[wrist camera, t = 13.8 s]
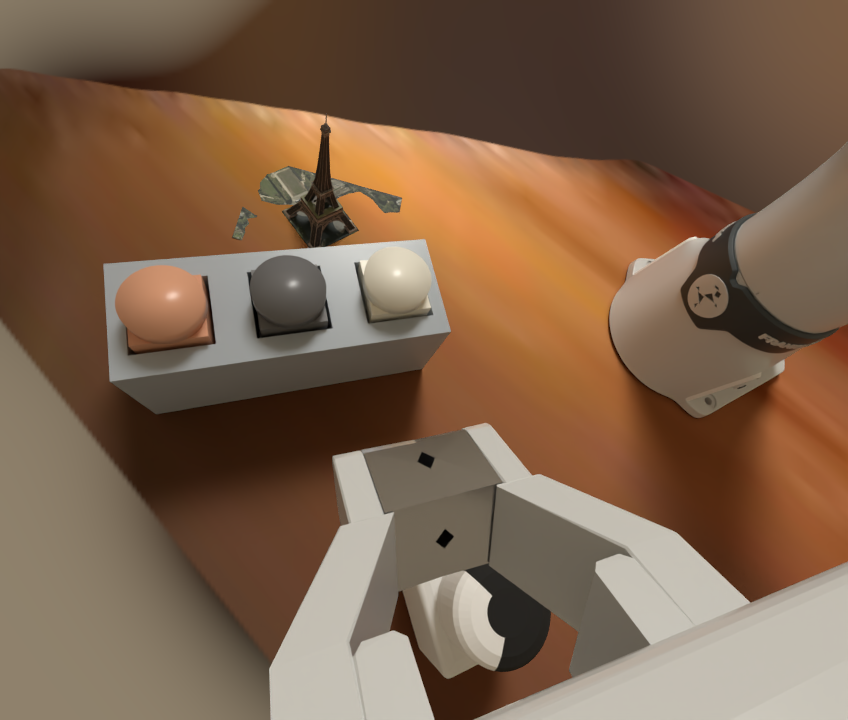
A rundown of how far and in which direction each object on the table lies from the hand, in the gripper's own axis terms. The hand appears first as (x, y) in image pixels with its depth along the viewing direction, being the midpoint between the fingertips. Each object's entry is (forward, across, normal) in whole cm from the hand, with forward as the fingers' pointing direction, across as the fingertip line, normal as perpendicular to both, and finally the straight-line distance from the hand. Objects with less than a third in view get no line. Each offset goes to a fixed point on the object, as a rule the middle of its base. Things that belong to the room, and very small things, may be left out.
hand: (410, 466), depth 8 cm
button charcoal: (+29, +1, +9) cm, 30 cm away
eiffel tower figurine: (+41, -4, +3) cm, 41 cm away
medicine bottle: (+15, -7, +27) cm, 32 cm away
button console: (+31, +1, +11) cm, 33 cm away
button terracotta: (+28, +9, +9) cm, 31 cm away
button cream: (+29, -6, +9) cm, 31 cm away
